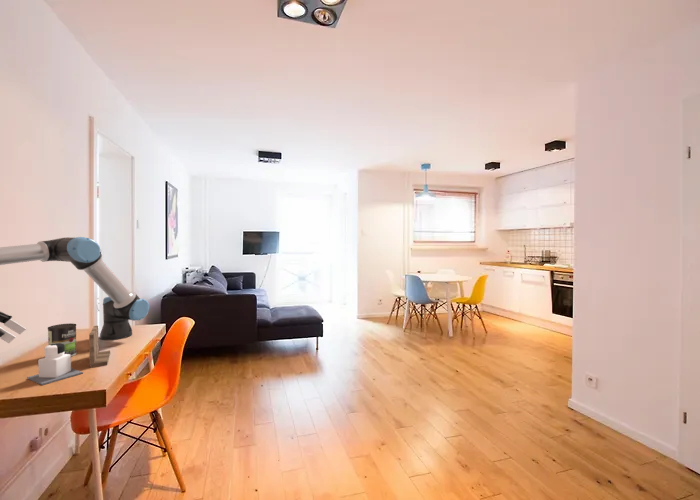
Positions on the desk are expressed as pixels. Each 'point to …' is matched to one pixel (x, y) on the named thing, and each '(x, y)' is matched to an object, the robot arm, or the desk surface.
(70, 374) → the charcoal mat
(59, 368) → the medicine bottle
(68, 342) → the coffee can
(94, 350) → the walnut backboard
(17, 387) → the desk surface
